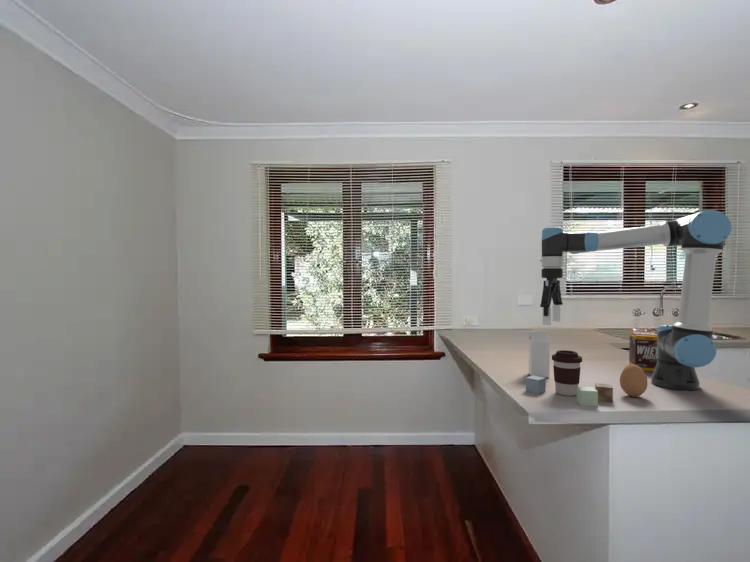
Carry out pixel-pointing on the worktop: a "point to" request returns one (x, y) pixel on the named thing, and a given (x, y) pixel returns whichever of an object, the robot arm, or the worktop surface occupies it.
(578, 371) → the coffee cup
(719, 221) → the robot arm
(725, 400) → the worktop surface
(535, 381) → the slate painted cube
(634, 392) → the egg
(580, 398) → the sage painted cube
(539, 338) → the milk carton
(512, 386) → the worktop surface
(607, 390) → the walnut cube
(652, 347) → the supplement box
